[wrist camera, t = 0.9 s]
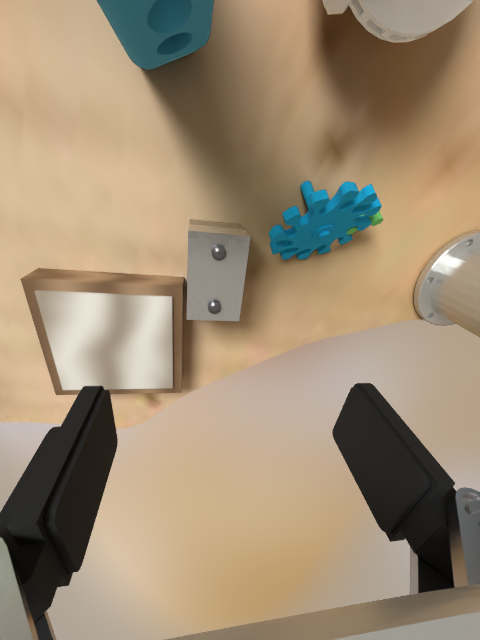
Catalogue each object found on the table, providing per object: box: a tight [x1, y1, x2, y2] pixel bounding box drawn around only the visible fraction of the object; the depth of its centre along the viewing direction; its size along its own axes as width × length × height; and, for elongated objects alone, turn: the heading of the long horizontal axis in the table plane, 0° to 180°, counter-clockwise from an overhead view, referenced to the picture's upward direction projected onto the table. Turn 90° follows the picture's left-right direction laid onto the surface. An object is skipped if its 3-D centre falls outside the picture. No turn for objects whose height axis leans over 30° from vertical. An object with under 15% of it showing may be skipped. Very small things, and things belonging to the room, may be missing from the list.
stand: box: [21, 268, 184, 395], centre depth 28 cm, size 14×14×3 cm
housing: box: [187, 219, 251, 321], centre depth 25 cm, size 5×8×6 cm, turn 173°
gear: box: [269, 181, 383, 260], centre depth 24 cm, size 11×6×10 cm
